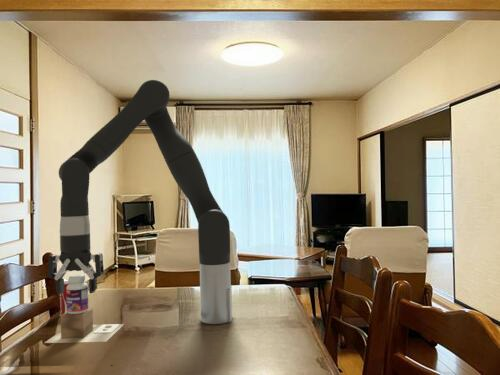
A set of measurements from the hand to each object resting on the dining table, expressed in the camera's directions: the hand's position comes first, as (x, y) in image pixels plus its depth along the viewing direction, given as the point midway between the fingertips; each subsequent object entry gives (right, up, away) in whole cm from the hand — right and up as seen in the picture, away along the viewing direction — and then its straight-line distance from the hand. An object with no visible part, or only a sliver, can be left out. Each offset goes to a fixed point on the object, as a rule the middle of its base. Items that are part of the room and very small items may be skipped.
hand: (76, 293), depth 111 cm
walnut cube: (0, -11, 0) cm, 11 cm away
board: (+2, -12, +1) cm, 13 cm away
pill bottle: (0, -5, 0) cm, 5 cm away
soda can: (-10, -13, +19) cm, 25 cm away
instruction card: (+7, -11, +4) cm, 13 cm away
